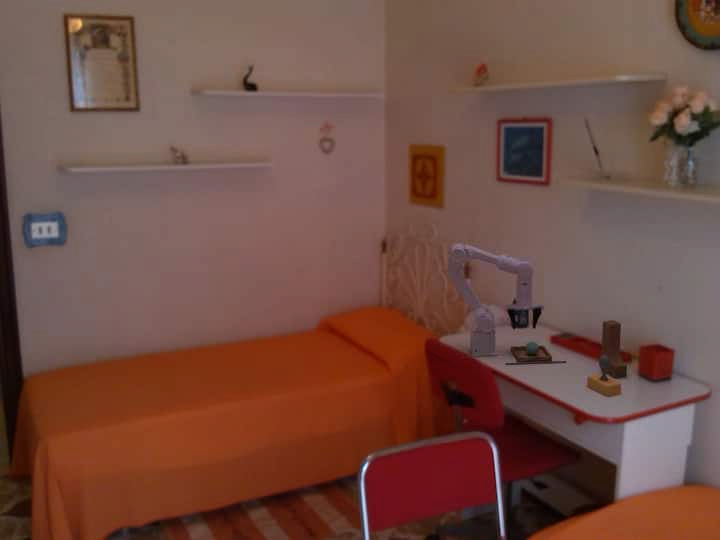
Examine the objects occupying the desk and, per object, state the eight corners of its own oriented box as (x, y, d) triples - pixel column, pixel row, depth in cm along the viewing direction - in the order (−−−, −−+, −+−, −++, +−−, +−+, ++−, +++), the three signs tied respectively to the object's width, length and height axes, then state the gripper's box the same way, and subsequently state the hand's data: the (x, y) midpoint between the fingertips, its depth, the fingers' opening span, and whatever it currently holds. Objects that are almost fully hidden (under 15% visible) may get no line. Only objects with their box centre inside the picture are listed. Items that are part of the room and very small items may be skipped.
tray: (517, 362, 260) (517, 357, 259) (510, 351, 272) (510, 346, 271) (551, 361, 259) (552, 356, 259) (543, 349, 272) (543, 345, 271)
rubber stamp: (586, 386, 235) (587, 352, 233) (600, 383, 237) (601, 349, 235) (607, 397, 226) (608, 361, 224) (621, 393, 228) (622, 358, 226)
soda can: (518, 322, 307) (519, 296, 304) (532, 326, 302) (532, 298, 299) (508, 326, 303) (508, 299, 300) (521, 329, 297) (522, 302, 295)
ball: (525, 356, 263) (528, 343, 262) (522, 351, 268) (525, 339, 267) (539, 357, 263) (541, 345, 262) (535, 353, 268) (538, 340, 267)
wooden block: (626, 377, 241) (629, 326, 237) (615, 378, 240) (617, 328, 236) (612, 368, 250) (613, 319, 246) (600, 369, 249) (602, 320, 245)
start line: (506, 365, 257) (506, 364, 257) (505, 363, 259) (505, 363, 258) (566, 362, 257) (566, 362, 257) (565, 361, 258) (565, 360, 258)
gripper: (506, 296, 260) (506, 332, 263) (546, 295, 260) (545, 330, 263) (503, 292, 267) (503, 326, 270) (541, 290, 267) (541, 325, 270)
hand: (523, 328), depth 267 cm, fingers open, 7 cm apart
